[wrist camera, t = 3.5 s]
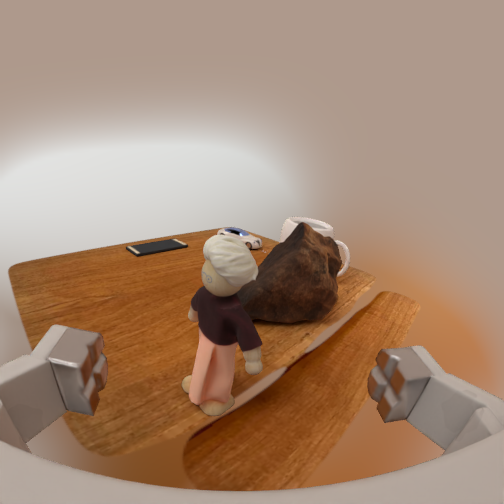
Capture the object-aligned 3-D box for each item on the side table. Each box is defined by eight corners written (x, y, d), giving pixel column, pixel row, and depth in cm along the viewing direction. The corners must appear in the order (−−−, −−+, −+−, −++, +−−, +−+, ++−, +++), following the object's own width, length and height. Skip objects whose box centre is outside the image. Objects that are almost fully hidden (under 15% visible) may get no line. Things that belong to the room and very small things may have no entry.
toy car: (267, 256, 54) (270, 242, 53) (215, 237, 60) (216, 224, 59) (277, 252, 57) (280, 238, 56) (226, 234, 63) (228, 222, 62)
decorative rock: (319, 303, 40) (338, 223, 36) (339, 328, 34) (364, 238, 31) (227, 301, 37) (239, 212, 33) (236, 330, 31) (251, 227, 28)
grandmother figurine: (160, 381, 22) (162, 223, 18) (195, 364, 25) (208, 217, 21) (232, 441, 18) (264, 267, 14) (267, 414, 21) (306, 252, 17)
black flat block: (137, 256, 45) (137, 253, 45) (126, 248, 48) (126, 246, 47) (187, 247, 53) (187, 244, 53) (174, 240, 55) (175, 238, 55)
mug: (265, 266, 50) (273, 217, 47) (291, 256, 56) (299, 213, 54) (333, 293, 43) (346, 240, 41) (352, 278, 50) (364, 233, 47)
